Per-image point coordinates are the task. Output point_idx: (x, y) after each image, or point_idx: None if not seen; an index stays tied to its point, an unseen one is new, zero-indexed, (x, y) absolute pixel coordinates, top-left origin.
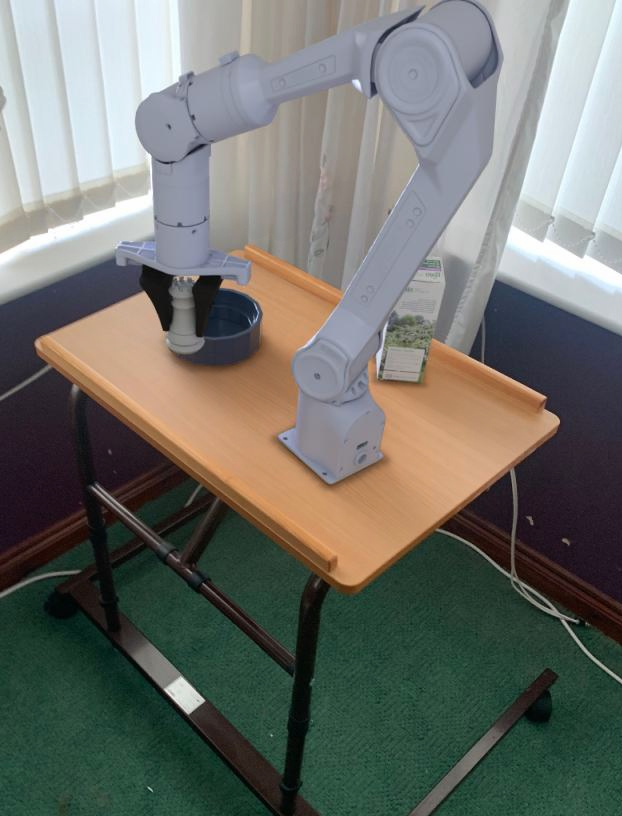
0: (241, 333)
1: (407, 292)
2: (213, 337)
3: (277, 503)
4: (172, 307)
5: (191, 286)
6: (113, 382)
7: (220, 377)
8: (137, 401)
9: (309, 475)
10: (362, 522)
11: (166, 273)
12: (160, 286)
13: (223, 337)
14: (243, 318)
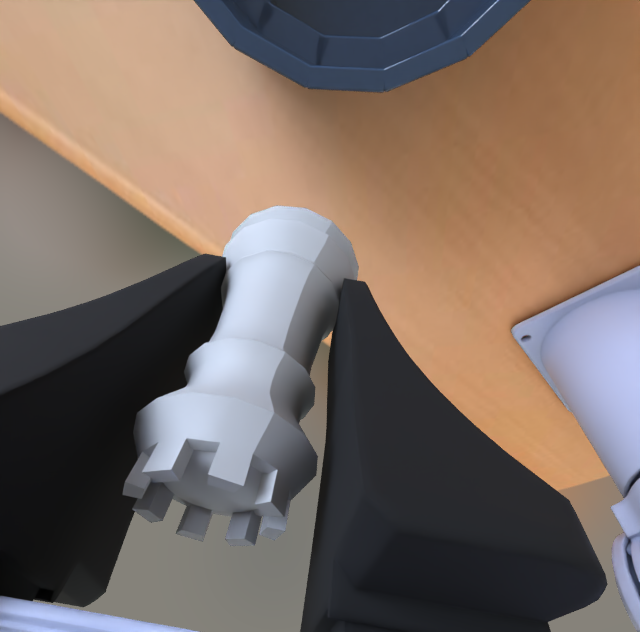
0: (511, 5)
1: None
2: (379, 70)
3: (477, 427)
4: (194, 296)
5: (274, 538)
6: (142, 186)
7: (398, 121)
8: (221, 246)
9: (542, 390)
10: (588, 448)
11: (49, 548)
12: (107, 562)
13: (422, 63)
14: None
